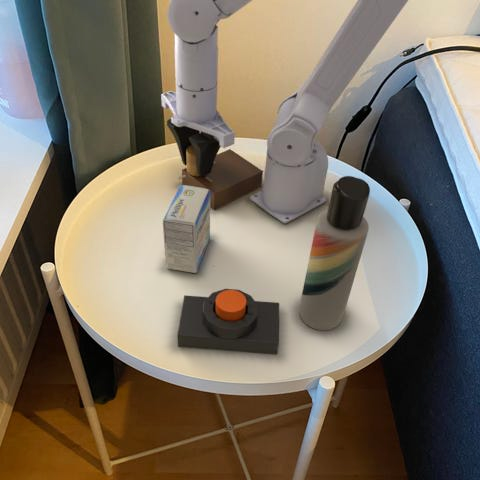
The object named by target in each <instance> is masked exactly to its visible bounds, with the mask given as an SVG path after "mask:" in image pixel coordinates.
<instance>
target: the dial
mask: <svg viewBox="0 0 480 480" xmlns="http://www.w3.org/2000/svg"><path fill="white" fill-rule="evenodd" d="M186 161H187V165H186V168H187V172H188V173H189V174H190V175H192V176H199V175H198V173H197V167H196V156H195V152H194V149H193V146H192V145H191V146H189V147H188V148H187V149H186Z"/></svg>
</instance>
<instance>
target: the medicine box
mask: <svg viewBox="0 0 480 480" xmlns="http://www.w3.org/2000/svg"><path fill="white" fill-rule="evenodd" d="M162 235H163V245H164V258H165V259H164V260H165V266H166V267H165V268H166V269H170V270H174V271H181V272H186V273H193V274H197V273H198V272H199V271H198V270H199V268H200V265H201V263H202V260H203V258H204V254H205V252H206V250H207V247H208V244H209V242H210V239H211V207H210V190H208V189H204V188H199V187H194V186H186V185H182V184H180V185H179V186H178V188H177V191H176V192H175V194H174V197H173V199H172V201H171V203H170V205H169V206H168V209H167V210H166V213H165V215H164V217H163V219H162Z"/></svg>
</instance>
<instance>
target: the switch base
mask: <svg viewBox="0 0 480 480" xmlns="http://www.w3.org/2000/svg"><path fill="white" fill-rule="evenodd" d="M226 290H235V291H238V292H240V293H242V294H243V295H244V296H245V298H246V311H245V315H244V316H243V317H242V318H241V319H240V320H238V321H234V322H230V321H224V320H222V319H220V318H219V317H218V316H217V314H216V311H215V309H216V297H217V296H218V294H219V293H221V292H223V291H226ZM180 311H181V312H180V317H179V324H178V329H177V333H176V334H177V347H179V348H190V349H191V348H192V349H193V348H194V349H203V350H204V349H205V350H217V351H228V352H229V351H230V352H243V353H253V354H254V353H255V354H268V355H277V354H278V350H279V345H280V303H279V302H273V301H262V300H260V301H259V300H255V299H254V298H253V296H252V295H250V294H248V293H247V292H245V291H243V290H241V289H236V288H222V289H220V290H217V291H214V292H211V294H210V295H208V296H199V295H184V296H183V299H182V306H181V310H180Z"/></svg>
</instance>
